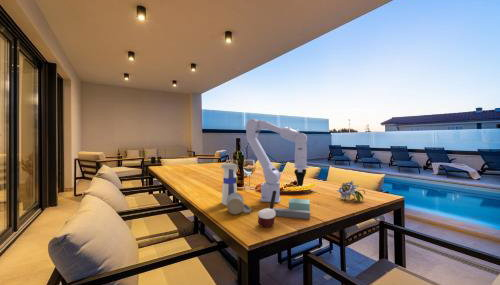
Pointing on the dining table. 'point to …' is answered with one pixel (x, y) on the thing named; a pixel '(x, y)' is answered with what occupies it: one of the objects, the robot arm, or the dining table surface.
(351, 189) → the passion flower
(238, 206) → the ceramic mug
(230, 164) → the water bottle
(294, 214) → the gray bar
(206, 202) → the dining table surface
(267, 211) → the cocoa
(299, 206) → the block
